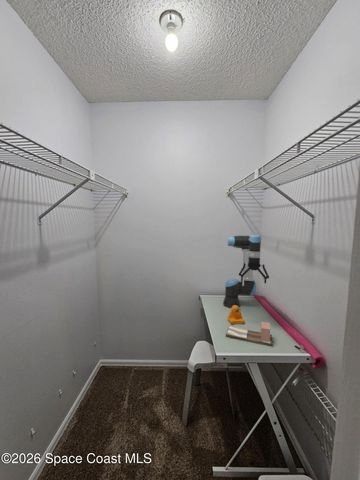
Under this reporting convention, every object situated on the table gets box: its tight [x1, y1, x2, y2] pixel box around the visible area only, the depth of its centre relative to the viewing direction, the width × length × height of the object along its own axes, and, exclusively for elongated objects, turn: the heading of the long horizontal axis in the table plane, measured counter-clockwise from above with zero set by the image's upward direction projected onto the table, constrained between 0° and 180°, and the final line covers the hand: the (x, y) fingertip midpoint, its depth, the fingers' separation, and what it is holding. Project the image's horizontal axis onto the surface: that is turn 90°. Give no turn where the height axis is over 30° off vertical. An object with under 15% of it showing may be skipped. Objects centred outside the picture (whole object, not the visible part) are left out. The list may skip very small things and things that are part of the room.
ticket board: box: [225, 326, 274, 347], centre depth 134 cm, size 12×28×2 cm, turn 68°
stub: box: [260, 321, 271, 342], centre depth 130 cm, size 9×5×8 cm, turn 158°
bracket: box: [227, 305, 246, 326], centre depth 154 cm, size 11×7×12 cm, turn 94°
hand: (253, 286), depth 145 cm, fingers open, 13 cm apart
